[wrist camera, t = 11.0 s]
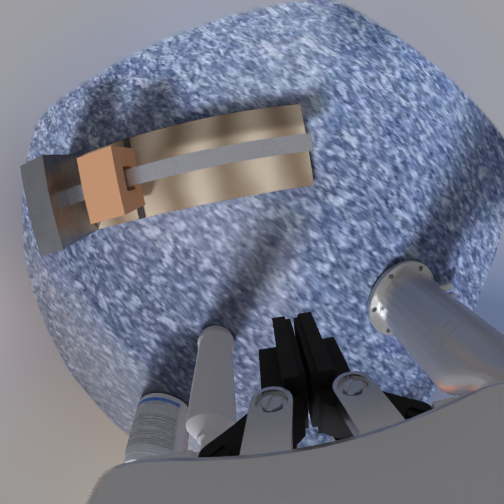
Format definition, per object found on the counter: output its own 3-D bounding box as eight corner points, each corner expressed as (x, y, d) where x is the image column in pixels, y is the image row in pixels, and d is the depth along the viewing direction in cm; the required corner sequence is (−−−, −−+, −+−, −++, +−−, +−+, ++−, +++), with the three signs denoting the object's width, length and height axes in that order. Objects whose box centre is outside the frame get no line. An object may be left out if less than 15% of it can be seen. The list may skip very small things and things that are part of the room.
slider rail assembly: (290, 106, 31) (312, 85, 21) (303, 185, 34) (331, 194, 24) (65, 162, 31) (20, 166, 21) (81, 233, 34) (40, 256, 24)
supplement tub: (129, 400, 43) (109, 463, 29) (164, 382, 42) (147, 453, 28) (166, 428, 46) (156, 489, 32) (202, 413, 44) (198, 481, 30)
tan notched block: (133, 148, 29) (110, 145, 23) (145, 204, 31) (125, 215, 25) (104, 158, 29) (76, 158, 23) (115, 212, 31) (90, 224, 25)
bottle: (193, 327, 39) (167, 489, 15) (229, 320, 39) (233, 488, 15) (203, 355, 40) (190, 509, 17) (237, 349, 40) (247, 507, 17)
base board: (298, 105, 31) (300, 103, 30) (311, 184, 34) (314, 185, 33) (65, 162, 31) (61, 162, 29) (81, 233, 34) (77, 235, 32)
